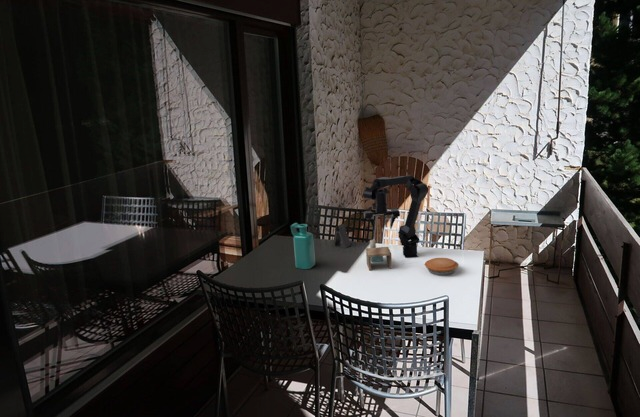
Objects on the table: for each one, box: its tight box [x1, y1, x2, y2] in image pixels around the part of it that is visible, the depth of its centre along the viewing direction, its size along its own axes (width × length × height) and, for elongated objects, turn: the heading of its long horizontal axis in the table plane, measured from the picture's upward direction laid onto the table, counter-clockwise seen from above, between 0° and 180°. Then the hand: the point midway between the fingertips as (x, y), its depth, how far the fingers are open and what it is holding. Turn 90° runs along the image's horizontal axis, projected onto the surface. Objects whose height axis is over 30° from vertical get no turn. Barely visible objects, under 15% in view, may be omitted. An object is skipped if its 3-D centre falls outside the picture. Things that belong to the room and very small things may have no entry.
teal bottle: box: [289, 222, 316, 270], centre depth 260 cm, size 10×8×22 cm
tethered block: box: [369, 239, 384, 263], centre depth 270 cm, size 6×18×6 cm, turn 1°
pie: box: [423, 257, 459, 276], centre depth 244 cm, size 15×16×5 cm
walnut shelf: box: [365, 246, 393, 271], centre depth 255 cm, size 11×10×8 cm
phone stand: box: [331, 223, 352, 249], centre depth 289 cm, size 9×6×12 cm, turn 55°
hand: (382, 229), depth 278 cm, fingers open, 9 cm apart
